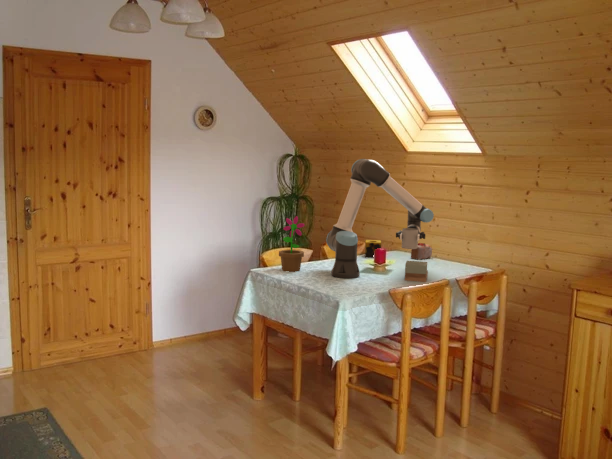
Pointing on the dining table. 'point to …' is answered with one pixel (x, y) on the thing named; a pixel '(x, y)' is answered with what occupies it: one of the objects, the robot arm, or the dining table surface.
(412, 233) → the cup
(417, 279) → the tower bottom block
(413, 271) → the tower top block
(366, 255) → the yellow black cube
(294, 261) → the flowerpot
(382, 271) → the dining table surface
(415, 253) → the food item
